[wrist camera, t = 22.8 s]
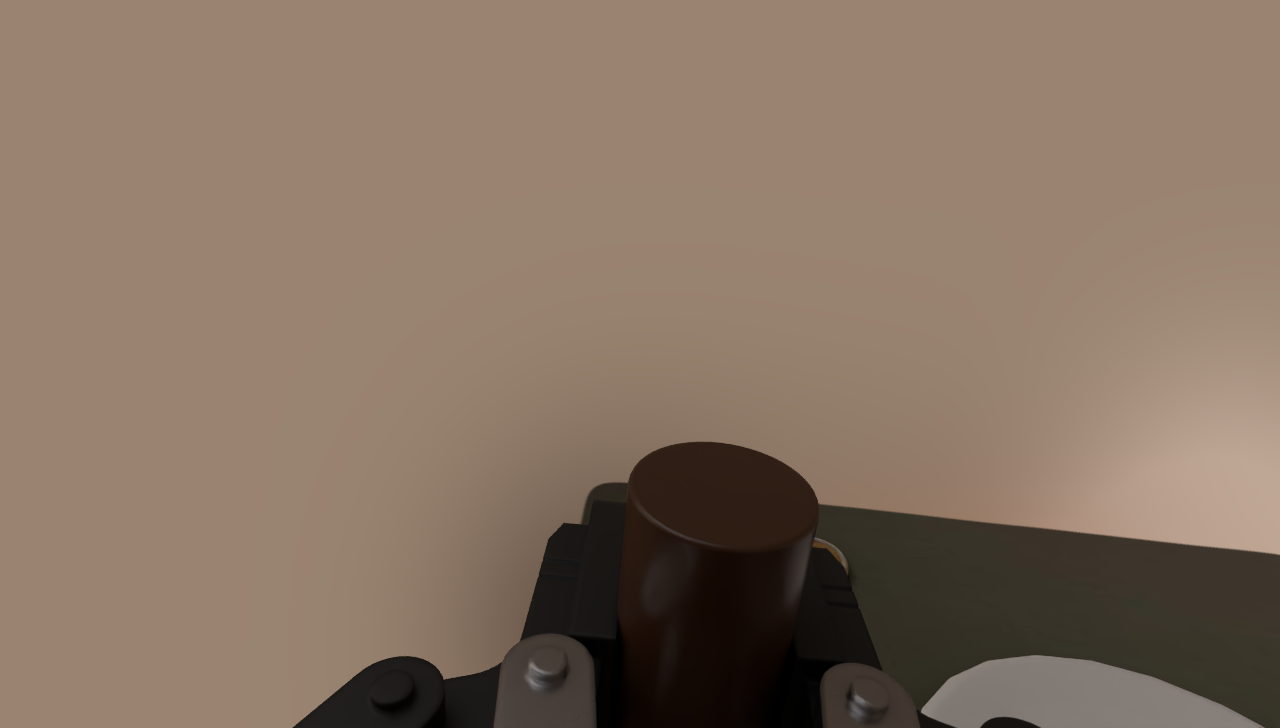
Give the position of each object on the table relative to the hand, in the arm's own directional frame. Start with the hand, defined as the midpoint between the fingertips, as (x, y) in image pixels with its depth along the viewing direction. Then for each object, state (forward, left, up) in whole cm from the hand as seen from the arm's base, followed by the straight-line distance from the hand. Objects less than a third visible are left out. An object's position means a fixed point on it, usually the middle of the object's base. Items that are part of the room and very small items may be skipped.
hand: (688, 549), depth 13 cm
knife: (-1, -2, -12) cm, 12 cm away
